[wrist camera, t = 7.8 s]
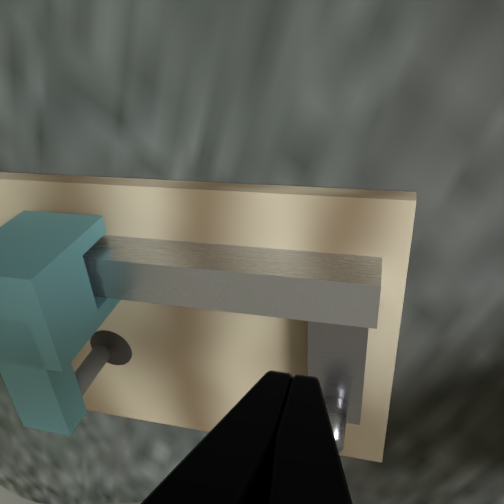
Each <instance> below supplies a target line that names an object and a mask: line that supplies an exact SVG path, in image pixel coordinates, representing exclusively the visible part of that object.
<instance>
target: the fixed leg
mask: <svg viewBox="0 0 504 504" xmlns="http://www.w3.org/2000/svg"><path fill="white" fill-rule="evenodd" d="M368 330H369V328H364V327H356V326H347V325H338V324H330V323H321V322H312V321H308V376H315V377H317V378H318V379H319V382H320V385H321V389H322V393H323V396H324V400H325V404H326V408H327V411H328V415H329V419H330V422H331V426H332V430H333V434H334V437H335V441H336V445H337V448H338V452H339V453H340V452H342V450H343V447H344V438H345V428H346V423H350V424H356V425H360V419H361V408H362V397H363V386H364V375H365V363H366V352H367V341H368Z"/></svg>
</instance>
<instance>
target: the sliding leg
mask: <svg viewBox="0 0 504 504" xmlns="http://www.w3.org/2000/svg"><path fill="white" fill-rule="evenodd" d="M106 232H107V231H106V227H105V222H104V218H103V216H97V215H83V214H68V213H54V212H39V211H25V210H24V211H22V212H21V213H20V214H18V215H17V216H15V217H14V218H12V219H11V220H9V221H8V222H6V223H5V224H3V225H2V226H1V227H0V374H1V376H2V378H3V381H4V383H5V385H6V388H7V390H8V392H9V394H10V397H11V399H12V401H13V403H14V406H15V408H16V410H17V412H18V415H19V417H20V419H21V422H22V424H23V426H24V427H27V428H32V429H37V430H42V431H47V432H52V433H57V434H63V435H68V436H71V434H72V433H73V432H74V430H75V429H76V427H77V426H78V424H79V423H80V421H81V420H82V418H83V417H84V415H85V414H86V412H87V409H86V406H85V403H84V400H83V397H82V396H83V395H84V393H85V392H86V390H87V389H88V388H89V386H90V385H91V383H92V382H93V381H94V379H95V378H96V376H97V375H98V373H99V372H100V371H101V369H102V368H103V366H104V365H105V364H106V362H107V361H108V359H109V358H110V356H111V353H110V351H109V350H108V349H107V348H106V347H105V346H102V345H96V346H94V348H93V349H92V350H91V352H90V353H89V354H88V355H87V357H86V358H85V359H84V361H83V362H82V363H81V365H80V366H79V367H78V368H77V370H76V371H75V372H74V370H73V367H72V364H71V362H72V361H73V359H74V358H75V357H76V356H77V354H78V353H79V352H80V351H81V349H82V348H83V347H84V346H85V344H86V343H87V342H88V341H89V339H90V338H91V337H92V336H93V334H94V333H95V332H96V331H97V329H98V328H99V327H100V326H101V324H102V323H103V322H104V320H105V319H106V318H107V317H108V315H109V314H110V313H111V312H112V310H113V309H114V308H115V307H116V305H117V304H118V303H119V302H120V299H111V298H102V297H94V295H93V292H92V288H91V284H90V281H89V277H88V273H87V270H86V266H85V262H84V259H83V254H84V253H86V252H87V251H88V250H89V249H90V248H91V247H92V246H93V245H94V244H95V243H96V242H97V241H98V240H99V239H100V238H101V237H102V236H103V235H104V234H105V233H106Z"/></svg>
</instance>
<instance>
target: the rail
mask: <svg viewBox="0 0 504 504" xmlns="http://www.w3.org/2000/svg"><path fill="white" fill-rule="evenodd" d="M83 259H84V262H85V266H86V270H87V273H88V277H89V281H90V284H91V288H92V292H93V295H94V297H102V298H111V299H120V300H129V301H137V302H146V303H155V304H164V305H172V306H181V307H190V308H198V309H207V310H216V311H225V312H233V313H242V314H251V315H260V316H268V317H277V318H286V319H295V320H303V321H312V322H321V323H330V324H338V325H347V326H356V327H364V328H373V329H377V323H378V313H379V303H380V293H381V278H382V257H373V256H361V255H348V254H336V253H323V252H311V251H298V250H286V249H273V248H261V247H248V246H236V245H223V244H210V243H198V242H185V241H173V240H160V239H148V238H135V237H123V236H110V235H103V236H102V237H101V238H100V239H99V240H98V241H97V242H96V243H95V244H94V245H93V246H92V247H91V248H90V249H89V250H88V251H87V252H86V253H84V254H83Z"/></svg>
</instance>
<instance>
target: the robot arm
mask: <svg viewBox="0 0 504 504" xmlns="http://www.w3.org/2000/svg"><path fill="white" fill-rule="evenodd" d="M141 504H352V500H351V497H350V493H349V489H348V486H347V482H346V478H345V474H344V471H343V467H342V463H341V460H340V456H339V452H338V448H337V445H336V441H335V437H334V434H333V430H332V426H331V422H330V419H329V415H328V411H327V408H326V404H325V400H324V396H323V393H322V389H321V385H320V382H319V379H318V378H317V377H315V376H308V375H301V374H296V375H294V376H292V374H290V373H287V372H280V371H273V370H271V371H268V372H266V373H265V374H264V375H263V377H262V378H261V379H260V380H259V381H258V382H257V383H256V384H255V385H254V386H253V387H252V388H251V389H250V390H249V391H248V392H247V393H246V394H245V395H244V396H243V397H242V398H241V400H240V401H239V402H238V403H237V404H236V405H235V406H234V407H233V408H232V409H231V410H230V411H229V412H228V413H227V414H226V415H225V416H224V417H223V418H222V419H221V420H220V421H219V422H218V424H217V425H216V426H215V427H214V428H213V429H212V430H211V431H210V432H209V433H208V434H207V435H206V436H205V437H204V438H203V439H202V440H201V441H200V442H199V443H198V444H197V445H196V447H195V448H194V449H193V450H192V451H191V452H190V453H189V454H188V455H187V456H186V457H185V458H184V459H183V460H182V461H181V462H180V463H179V464H178V465H177V466H176V467H175V468H174V469H173V471H172V472H171V473H170V474H169V475H168V476H167V477H166V478H165V479H164V480H163V481H162V482H161V483H160V484H159V485H158V486H157V487H156V488H155V489H154V490H153V491H152V492H151V493H150V495H149V496H148V497H147V498H146V499H145V500H144V501H143V502H142V503H141Z"/></svg>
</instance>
